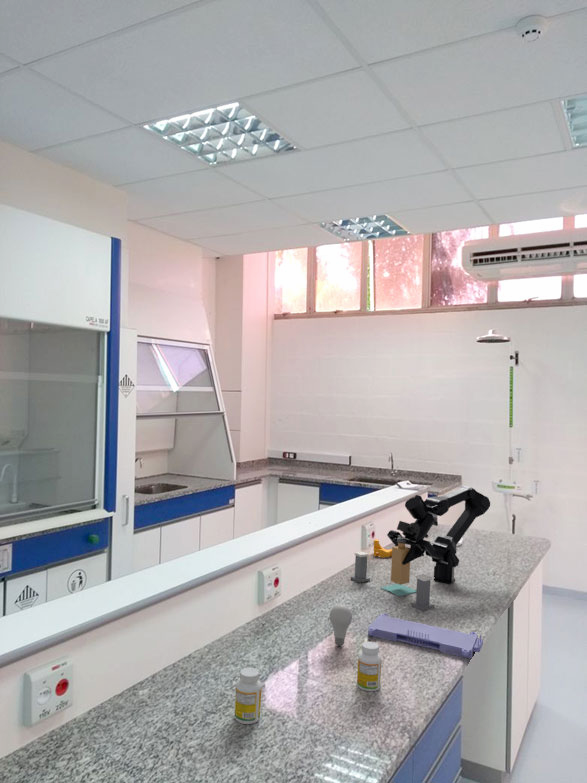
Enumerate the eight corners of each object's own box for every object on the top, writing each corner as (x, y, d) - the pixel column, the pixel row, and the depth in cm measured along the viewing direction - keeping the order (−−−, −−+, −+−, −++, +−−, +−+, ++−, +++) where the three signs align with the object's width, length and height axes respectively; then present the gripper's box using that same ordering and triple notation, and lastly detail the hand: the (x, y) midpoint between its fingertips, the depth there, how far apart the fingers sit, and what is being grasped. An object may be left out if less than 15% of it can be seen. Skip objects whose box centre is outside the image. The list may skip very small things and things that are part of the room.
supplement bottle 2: (365, 678, 144) (366, 638, 144) (384, 686, 140) (386, 645, 140) (352, 686, 140) (354, 644, 140) (372, 694, 136) (374, 652, 136)
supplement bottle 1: (247, 728, 121) (249, 680, 121) (229, 717, 124) (231, 671, 124) (265, 717, 125) (267, 671, 125) (247, 708, 128) (249, 663, 128)
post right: (360, 577, 222) (362, 550, 222) (370, 580, 218) (371, 554, 218) (350, 579, 219) (351, 552, 219) (359, 583, 215) (361, 555, 215)
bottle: (399, 578, 212) (401, 536, 212) (409, 582, 209) (411, 539, 208) (390, 580, 210) (392, 538, 209) (400, 584, 206) (401, 541, 206)
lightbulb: (353, 643, 163) (354, 603, 163) (347, 652, 157) (349, 611, 157) (331, 639, 165) (333, 599, 165) (325, 648, 159) (327, 607, 159)
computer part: (475, 665, 155) (484, 643, 168) (476, 648, 155) (485, 628, 168) (365, 639, 168) (381, 621, 181) (366, 624, 168) (382, 607, 181)
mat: (399, 584, 215) (399, 583, 215) (417, 592, 208) (417, 591, 208) (380, 588, 210) (381, 587, 210) (399, 596, 203) (399, 595, 203)
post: (421, 602, 198) (423, 573, 198) (433, 607, 194) (435, 577, 193) (411, 605, 195) (412, 575, 195) (423, 610, 191) (424, 579, 191)
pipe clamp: (373, 557, 250) (374, 541, 250) (373, 554, 255) (374, 539, 255) (402, 559, 249) (403, 543, 249) (401, 556, 254) (402, 541, 254)
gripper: (391, 507, 219) (368, 541, 212) (431, 518, 204) (406, 555, 197) (406, 527, 223) (383, 560, 217) (445, 538, 208) (422, 575, 202)
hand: (398, 562), depth 208 cm, fingers closed on bottle, 4 cm apart
